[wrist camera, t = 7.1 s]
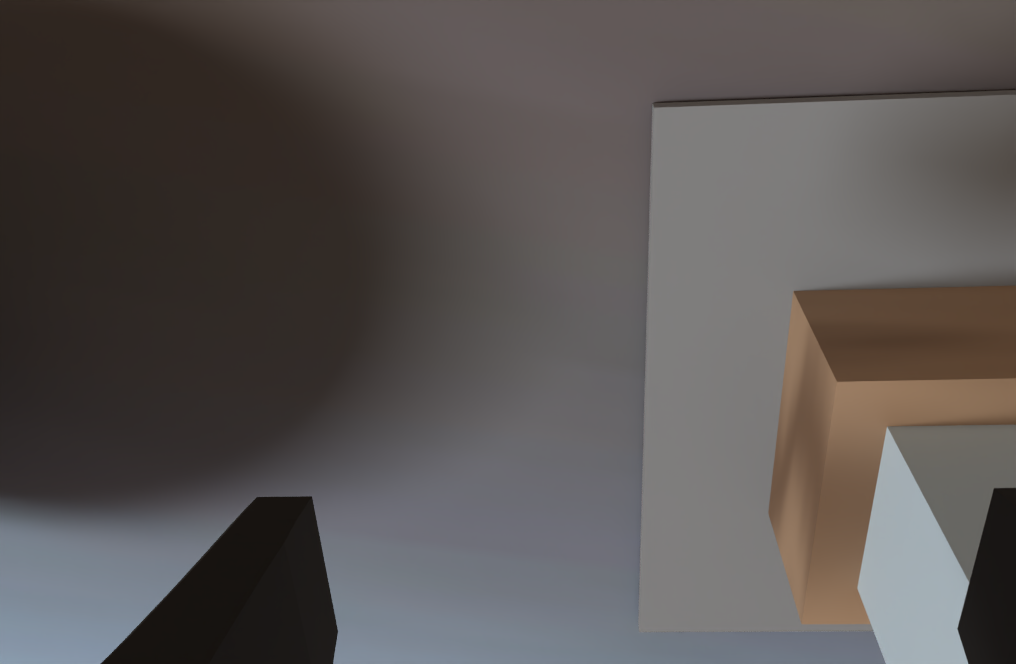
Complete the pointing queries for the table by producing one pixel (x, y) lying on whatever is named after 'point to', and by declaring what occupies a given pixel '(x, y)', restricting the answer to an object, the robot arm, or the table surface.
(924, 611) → the pale grey small block
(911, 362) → the walnut block
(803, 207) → the mat
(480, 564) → the table surface
